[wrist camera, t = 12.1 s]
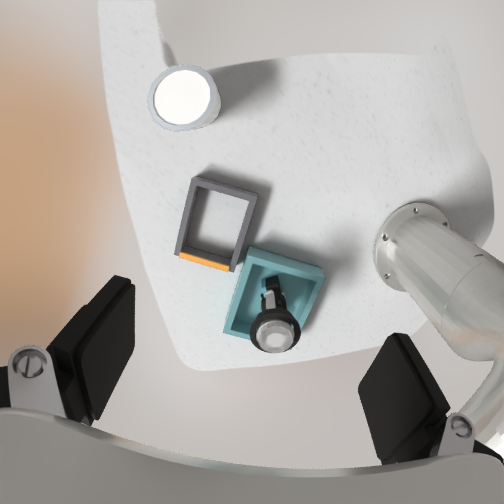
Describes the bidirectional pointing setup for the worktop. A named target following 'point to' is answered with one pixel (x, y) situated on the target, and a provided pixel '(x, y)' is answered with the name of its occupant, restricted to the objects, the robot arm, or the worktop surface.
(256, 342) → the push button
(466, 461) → the robot arm
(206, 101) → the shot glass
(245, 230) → the box
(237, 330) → the tray
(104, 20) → the worktop surface
